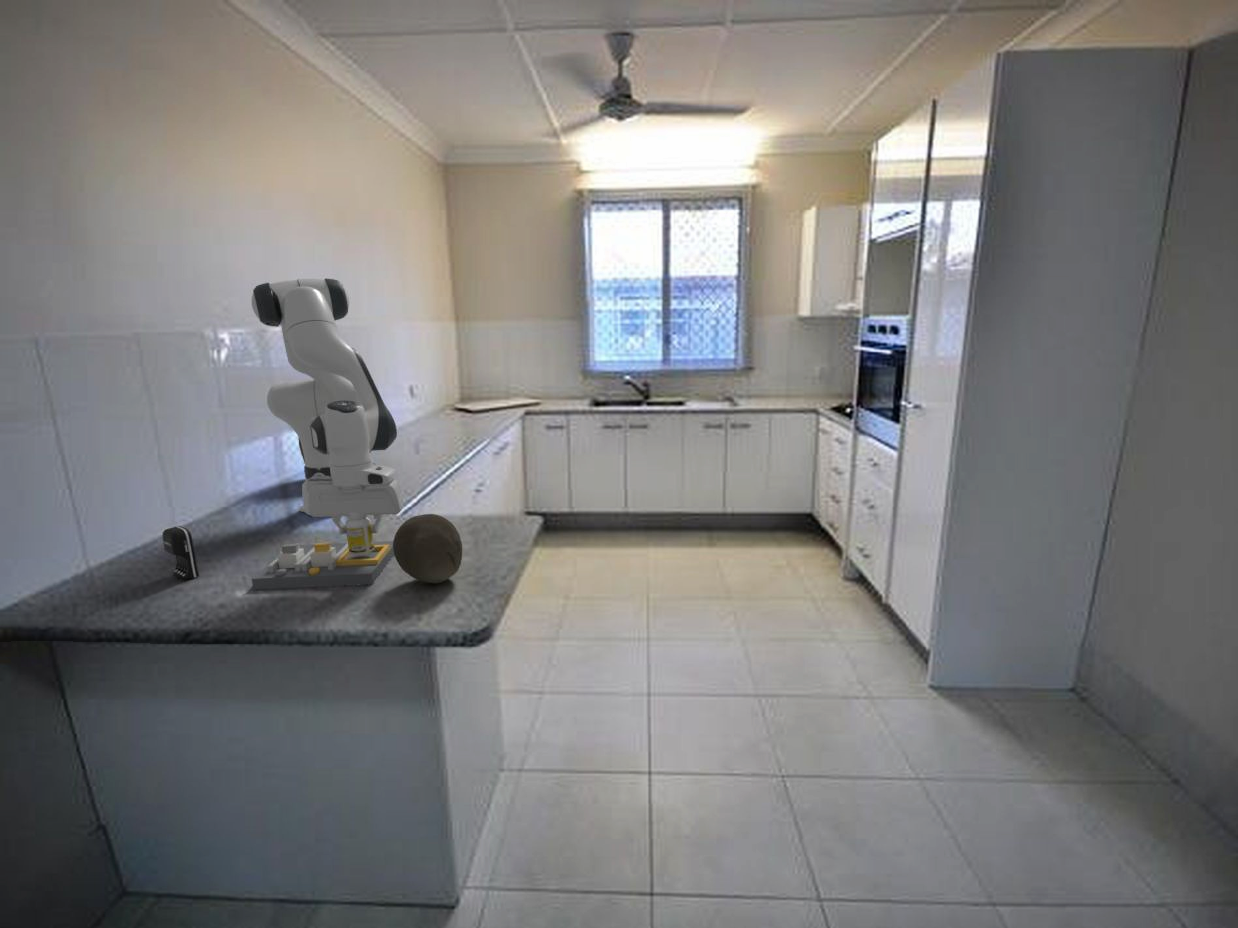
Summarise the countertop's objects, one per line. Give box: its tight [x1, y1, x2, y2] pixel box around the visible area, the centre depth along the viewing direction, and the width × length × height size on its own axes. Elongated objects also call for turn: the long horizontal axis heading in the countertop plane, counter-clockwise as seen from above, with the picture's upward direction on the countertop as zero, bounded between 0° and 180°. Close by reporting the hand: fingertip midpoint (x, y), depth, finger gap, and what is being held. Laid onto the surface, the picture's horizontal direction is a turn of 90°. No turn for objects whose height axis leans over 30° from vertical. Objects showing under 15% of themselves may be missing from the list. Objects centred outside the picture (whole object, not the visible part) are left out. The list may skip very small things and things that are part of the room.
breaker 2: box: [310, 542, 336, 567], centre depth 140 cm, size 4×4×5 cm
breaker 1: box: [276, 543, 305, 568], centre depth 139 cm, size 4×4×5 cm
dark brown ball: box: [392, 513, 463, 584], centre depth 134 cm, size 14×14×15 cm
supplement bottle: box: [345, 513, 375, 555], centre depth 142 cm, size 5×5×10 cm
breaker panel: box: [251, 540, 395, 591], centre depth 144 cm, size 20×25×4 cm
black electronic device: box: [162, 525, 200, 581], centre depth 140 cm, size 7×4×11 cm, turn 55°
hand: (359, 533), depth 143 cm, fingers closed on supplement bottle, 5 cm apart
